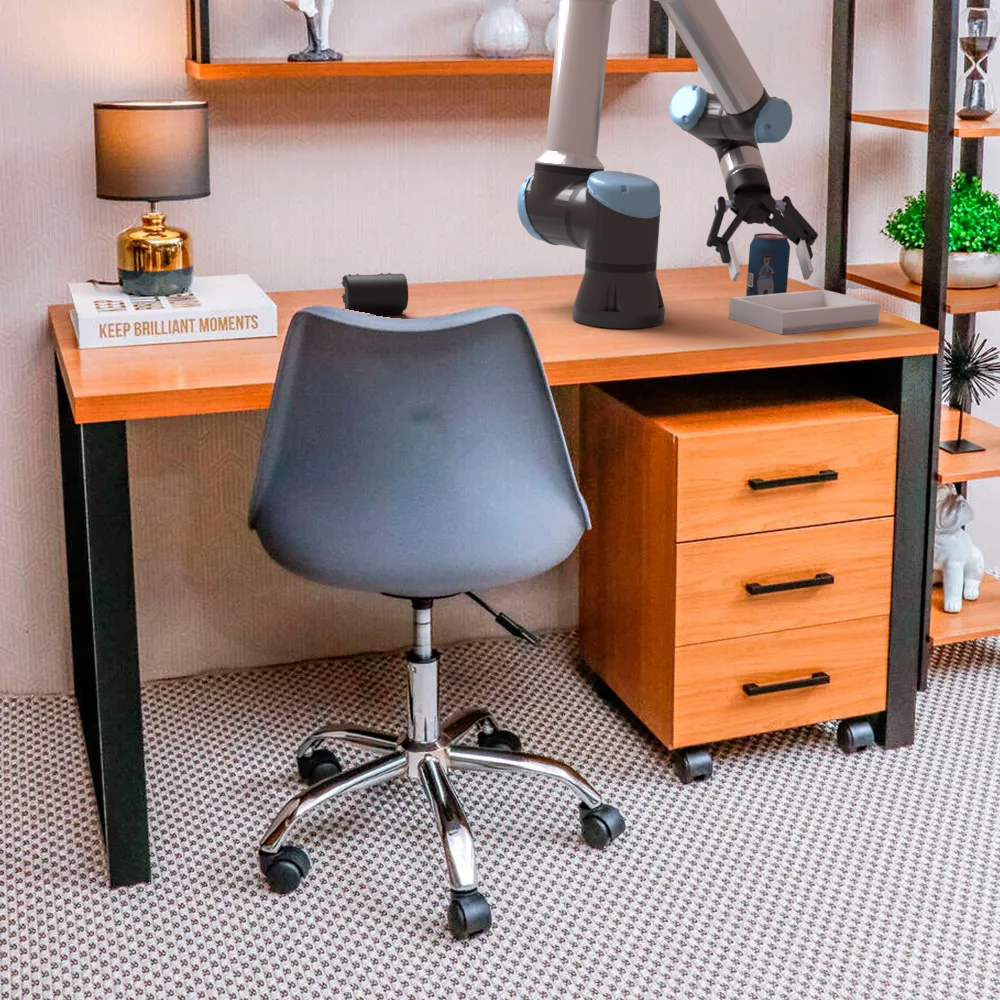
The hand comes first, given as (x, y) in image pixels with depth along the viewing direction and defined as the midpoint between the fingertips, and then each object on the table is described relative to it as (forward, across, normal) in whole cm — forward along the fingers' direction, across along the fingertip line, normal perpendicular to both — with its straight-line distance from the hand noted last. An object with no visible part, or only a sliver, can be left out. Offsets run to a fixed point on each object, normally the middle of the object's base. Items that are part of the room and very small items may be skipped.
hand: (772, 276), depth 249 cm
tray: (+13, 0, +6) cm, 15 cm away
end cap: (+2, +70, -5) cm, 70 cm away
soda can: (+3, 0, -5) cm, 6 cm away
